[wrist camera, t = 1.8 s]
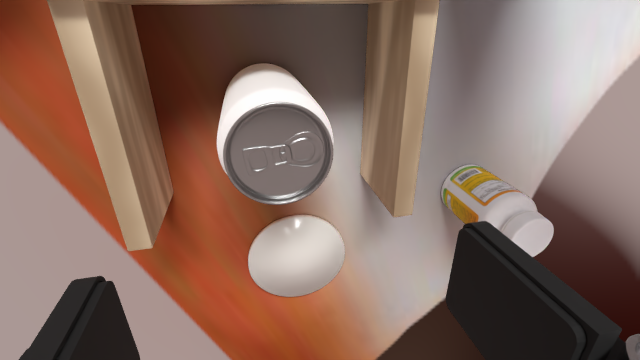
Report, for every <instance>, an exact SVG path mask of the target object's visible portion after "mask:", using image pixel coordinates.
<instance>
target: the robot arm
mask: <svg viewBox="0 0 640 360" xmlns="http://www.w3.org/2000/svg"><path fill="white" fill-rule="evenodd" d="M446 303H447V306H448V309H449V310H450V312H451V313H452V314H453V316H454V317H455V318H456V320H457V321H458V322H459V324H460V325H461V327H462V328H463V329H464V331H465V332H466V333H467V335H468V336H469V338H470V339H471V340H472V342H473V343H474V344H475V346H476V347H477V348H478V350H479V351H480V353H481V354H482V355H483V357H484V358H485V359H486V360H640V334H636V335H633V336H631V337H629V338H628V340H627V341H626V343H625V342H624V341H622V340H621V339H620V338H619V337H618V336H619V334H620V332H621V330H622V329H621V328H620V327H619V326H618V325H616V324H615V323H614V322H613V321H611V320H610V319H609V318H608V317H606V316H605V315H604V314H603V313H601V312H600V311H599V310H598V309H596V308H595V307H594V306H592V305H591V304H590V303H589V302H587V301H586V300H585V299H584V298H583V297H581V296H580V295H579V294H578V293H576V292H575V291H574V290H573V289H571V288H570V287H569V286H568V285H566V284H565V283H564V282H563V281H561V280H560V279H559V278H558V277H557V276H555V275H554V274H552V272H550V271H549V270H548V269H547V268H545V267H544V266H543V265H541V264H540V263H539V262H538V261H537V260H535V259H534V258H533V257H532V256H530V255H529V254H528V253H527V252H525V251H524V250H523V249H522V248H520V247H519V246H518V245H517V244H515V243H514V242H513V241H512V240H510V239H509V238H508V237H507V236H505V235H504V234H503V233H502V232H500V231H499V230H498V229H497V228H495V227H494V226H493V225H492V224H490V223H489V222H487V221H479V222H472V223H467V224H465V225H464V226H463V229H461V230H460V231H459V234H458V238H457V244H456V249H455V254H454V259H453V264H452V269H451V274H450V279H449V284H448V289H447V294H446ZM19 360H140V356H139V352H138V350H137V347H136V344H135V341H134V339H133V336H132V333H131V330H130V328H129V324H128V322H127V319H126V316H125V313H124V311H123V308H122V305H121V302H120V299H119V296H118V294H117V291H116V288H115V285H114V283H113V282H112V281H106V280H105V278H104V277H102V276H97V277H90V278H84V279H76V280H74V281H72V282H71V283H70V285H69V286H68V288H67V289H66V291H65V292H64V294H63V296H62V297H61V299H60V301H59V302H58V303H57V305H56V307H55V308H54V310H53V311H52V313H51V314H50V316H49V318H48V319H47V321H46V322H45V324H44V326H43V327H42V329H41V330H40V332H39V333H38V335H37V337H36V338H35V340H34V341H33V343H32V344H31V346H30V348H29V349H27V350H26V351H25V352H24V354H23V355H22V356H21V357H20V359H19Z"/></svg>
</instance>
